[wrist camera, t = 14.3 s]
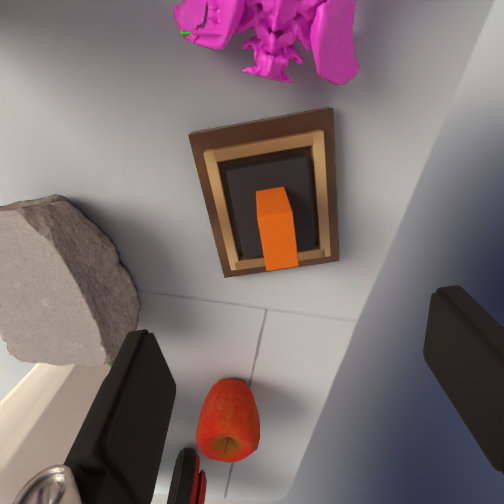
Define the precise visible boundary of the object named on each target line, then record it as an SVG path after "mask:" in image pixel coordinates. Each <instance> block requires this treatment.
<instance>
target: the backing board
mask: <svg viewBox="0 0 504 504" xmlns="http://www.w3.org/2000/svg"><path fill="white" fill-rule="evenodd" d="M188 136H189V140H190V144H191V148H192V152H193V155H194V159H195V163H196V167H197V171H198V175H199V179H200V183H201V187H202V191H203V195H204V199H205V203H206V207H207V211H208V215H209V219H210V223H211V227H212V231H213V235H214V239H215V242H216V246H217V250H218V254H219V258H220V262H221V266H222V270H223V274H224V277H225V278H227V277H233V276H240V275H247V274H254V273H261V272H268V271H267V270H266V265H265V260H264V256H259V257H252V258H246V259H245V258H244V255H243V251H242V246H241V241H240V236H239V232H238V227H237V222H236V217H235V212H234V208H233V203H232V198H231V193H230V189H229V184H228V179H227V174H226V171H227V167H228V166H234V165H240V164H245V163H251V162H257V161H263V160H268V159H274V158H280V157H286V156H291V155H297V154H305V156H306V157H307V158H308V170H309V182H310V194H311V206H312V218H313V231H314V243H315V248H312V249H305V250H299V251H297V255H298V264H299V266H298V267H302V266H308V265H315V264H322V263H329V262H336V261H339V240H338V215H337V191H336V167H335V142H334V118H333V108H330V107H326V108H320V109H315V110H309V111H304V112H299V113H293V114H288V115H282V116H277V117H272V118H266V119H261V120H255V121H250V122H244V123H239V124H234V125H228V126H223V127H217V128H212V129H207V130H201V131H196V132H191V133H190V134H189V135H188ZM291 268H295V267H291ZM284 269H288V268H284ZM277 270H281V269H277ZM270 271H274V270H270Z"/></svg>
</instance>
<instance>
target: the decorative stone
mask: <svg viewBox="0 0 504 504" xmlns="http://www.w3.org/2000/svg"><path fill="white" fill-rule="evenodd" d="M139 308H140V303H139V300H138V297H137V288H136V286H135V285H134V282H133V280H132V277H131V276H130V273H129V272H128V270H127V269H126V268H125V266H124V265H123V263H122V262H121V260H120V256H119V253H118V251H117V248H116V245H115V244H114V243H113V242H112V240H111V238H109V237H108V236H107V235H106V234H105V233H104V232H103V231H102V230H101V229H100V228H99V226H98V225H97V224H96V223H94V222H92V221H91V220H90V218H88V216H87V215H86V214H85V213H84V212H83V211H82V210H81V209H79V208H78V207H77V206H76V205H74V204H73V203H71V202H70V201H69V200H68V199H67V198H65V197H63V196H61V195H52V196H49V197H47V198H39V199H35V200H26V201H18V202H15V203H12V204H9V205H6V206H0V335H1V337H2V340H3V341H5V342H7V349H8V352H9V354H10V355H12V356H14V357H15V358H16V359H18V360H19V361H21V362H28V363H47V364H51V365H58V366H65V365H71V364H80V365H85V366H92V367H99V366H102V365H104V364H106V363H109V362H111V361H113V360H114V359H115V358H116V356H117V354H118V352H119V350H120V348H121V346H122V344H123V342H124V339H125V337H126V335H127V334H128V332H130V331H136V329H137V325H138V322H139V317H138V311H139Z"/></svg>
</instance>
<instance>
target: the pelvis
mask: <svg viewBox="0 0 504 504" xmlns="http://www.w3.org/2000/svg"><path fill="white" fill-rule="evenodd" d="M355 2H356V0H184V1H183V2H182V4H181V5H180V6H178V5H175V6H174V18H175V20H176V23H177V25H178V28H179V30H180V33H181V36H184V37H183V38H185V39H187V40H189V41H190V42H192V43H197V45H199V46H204V47H206V48H211V49H217V50H220V49H222V48H224V47H225V46H226V45H227V43H228V42H229V40H230V38H231V37H232V35H233V33H234V31H235V30H236V32H237V33H238V34H241V33H242V32H243V31H245V30H247V29H249V28H251V27H253V28H254V30H255V32H256V35H257V36H255V37H251V38H250V39H249V41H245V42H244V43H243V46H242V47H243V49H244V50H247V49H253V50H254V59H255V63H256V66H249V67H247V68H245V69H243V70H241V71H242V72H245V73H250V74H254V75H256V76H259V77H264V78H268V79H272V80H277V81H284V82H290V83H293V82H292V81H291V79H290V78H289V77H288V76H287V75H286V74H284V72H285V70H286V69H287V67H288V63H289V59H292V60H294V61H295V62H296V63H297V64H302V62H303V58H302V57H301V56H300V55H299V51H298V49H297V48H296V47H295V46H294V44H293V43H294V41H295V40H296V39H299V40H300V41H301V42H302V44H303V45H304V47H305V49H306V50H310V49H311V48H312V50H313V56H314V59H315V64H316V69H317V74H318V75H319V76H320V77H321V78H324V79H325V80H327V81H329V82H331V83H334V84H336V85H340V84H345V83H347V82H349V81H350V80H351V79H352V78H353V77H354V76H355V75H356V74H357V73H358V71H359V64H358V62H357V60H356V56H355V51H354V44H353V20H354V12H355ZM207 3H208V5H207V6H208V13H207V14H208V16H207V22H206V24H205V27H204V28H203V27H199V29H198V30H197V28H198V26H199V25H202V24H203V23H204V18H205V13H206V4H207Z"/></svg>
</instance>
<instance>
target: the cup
mask: <svg viewBox="0 0 504 504" xmlns="http://www.w3.org/2000/svg"><path fill="white" fill-rule="evenodd" d="M112 365H113V362H112V361H111V362H109V363H106V364H104V365H102V366H99V367H92V366H85V365H80V364H71V365H65V366H58V365H51V364H47V363H37V364H36V365H35V366H34V367H33V368H32V370H31V371H30V372H29V373H28V374H27V375H26V376H25V377H24V378H23V379H22V380H21V381H20V382H19V383H18V384H17V385H16V386H15V387H14V388H13V389H12V391H11V392H10V393H9V394H8V395H7V396H6V397H5V398H4V399H3V400H2V401H1V402H0V504H12V503H13V501H14V499H15V498H16V496H17V494H18V493H19V491H20V490H21V489H22V488H23V486H24V485H25V484H26V483H27V482H28V481H29V480H30V479H31V478H32V477H34V476H35V475H36V474H37V473H39V472H40V471H42V470H44V469H45V468H47V467H50V466H53V465H62V464H64V462H65V460H66V458H67V455H68V453H69V451H70V449H71V447H72V445H73V443H74V441H75V439H76V437H77V434H78V432H79V430H80V428H81V426H82V424H83V422H84V420H85V418H86V416H87V413H88V411H89V409H90V407H91V405H92V403H93V401H94V399H95V397H96V395H97V393H98V390H99V388H100V386H101V384H102V382H103V380H104V379H105V377H106V376H107V375H108V374H109V371H110V369H111V367H112Z"/></svg>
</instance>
